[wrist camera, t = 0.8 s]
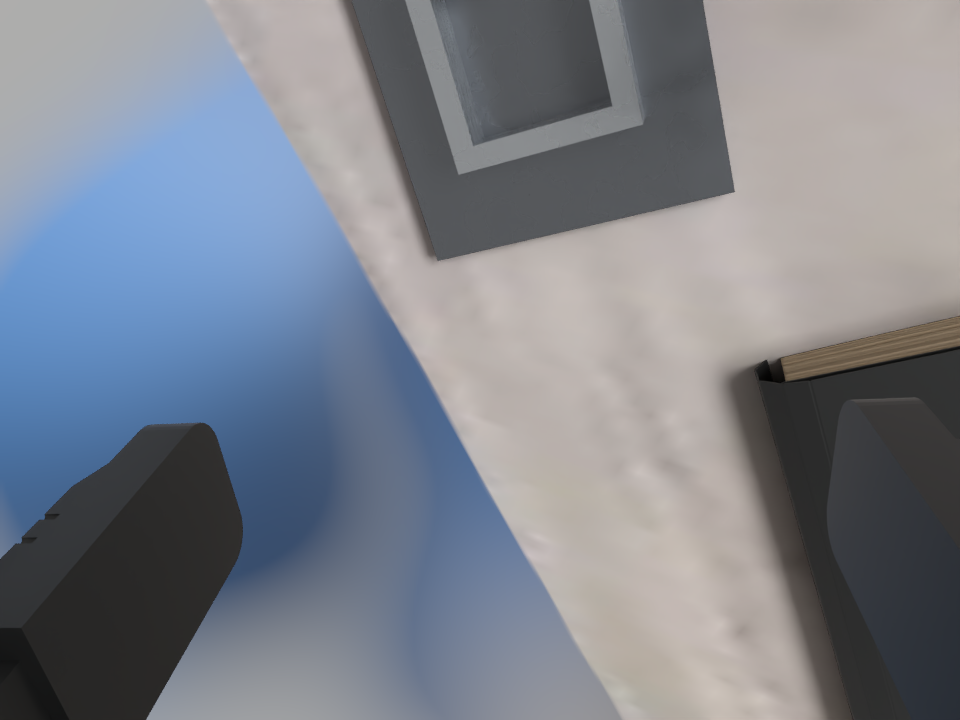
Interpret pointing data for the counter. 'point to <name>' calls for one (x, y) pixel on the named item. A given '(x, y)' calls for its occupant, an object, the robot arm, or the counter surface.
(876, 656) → the black book
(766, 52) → the counter surface
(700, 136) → the mounting plate
